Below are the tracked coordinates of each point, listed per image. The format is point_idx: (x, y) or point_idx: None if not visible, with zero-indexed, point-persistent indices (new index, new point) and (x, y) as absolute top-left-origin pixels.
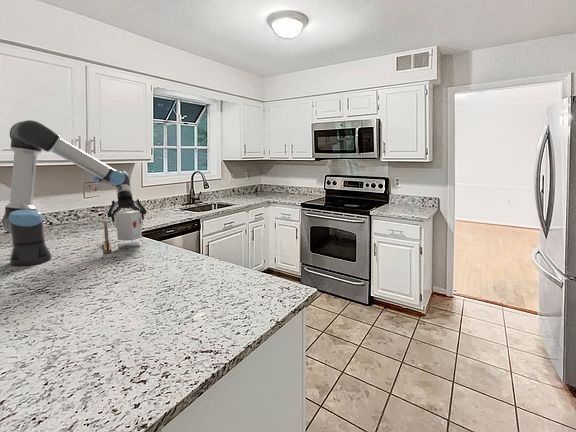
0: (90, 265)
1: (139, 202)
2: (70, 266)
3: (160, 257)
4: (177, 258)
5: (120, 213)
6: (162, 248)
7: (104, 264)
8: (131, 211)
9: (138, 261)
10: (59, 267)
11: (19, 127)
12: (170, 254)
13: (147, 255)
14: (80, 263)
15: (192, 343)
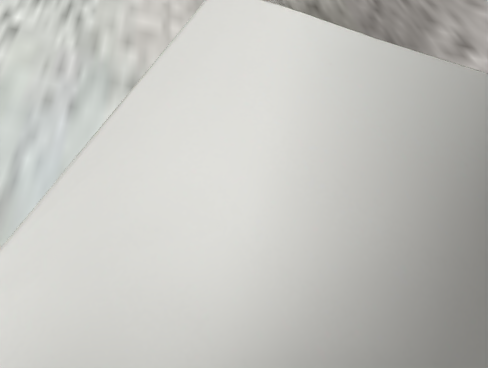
0: (369, 7)
1: None
2: (446, 14)
3: (89, 32)
4: (23, 5)
5: (461, 73)
6: (40, 186)
7: (317, 6)
8: (214, 175)
9: (185, 8)
10: (484, 13)
11: None
12: (33, 61)
13: (144, 72)
14: (427, 37)
15: None
